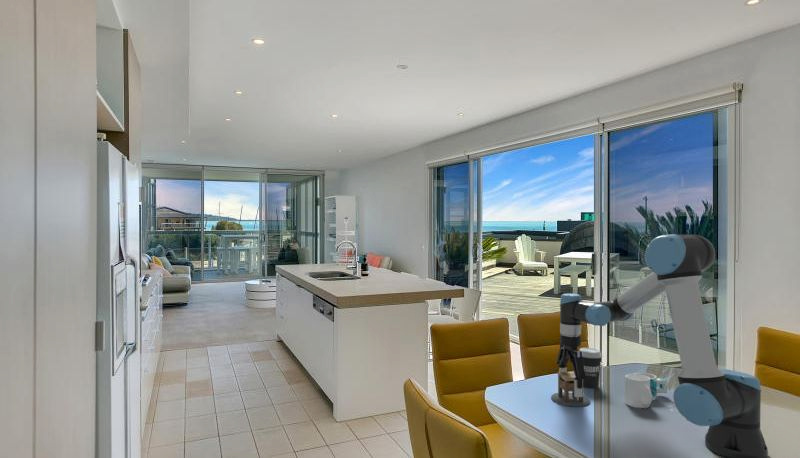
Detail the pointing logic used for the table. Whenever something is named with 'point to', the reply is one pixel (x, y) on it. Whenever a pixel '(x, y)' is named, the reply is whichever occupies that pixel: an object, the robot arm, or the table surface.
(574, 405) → the mat
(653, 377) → the mug
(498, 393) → the table surface
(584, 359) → the coffee cup
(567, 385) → the stool
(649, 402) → the mug
